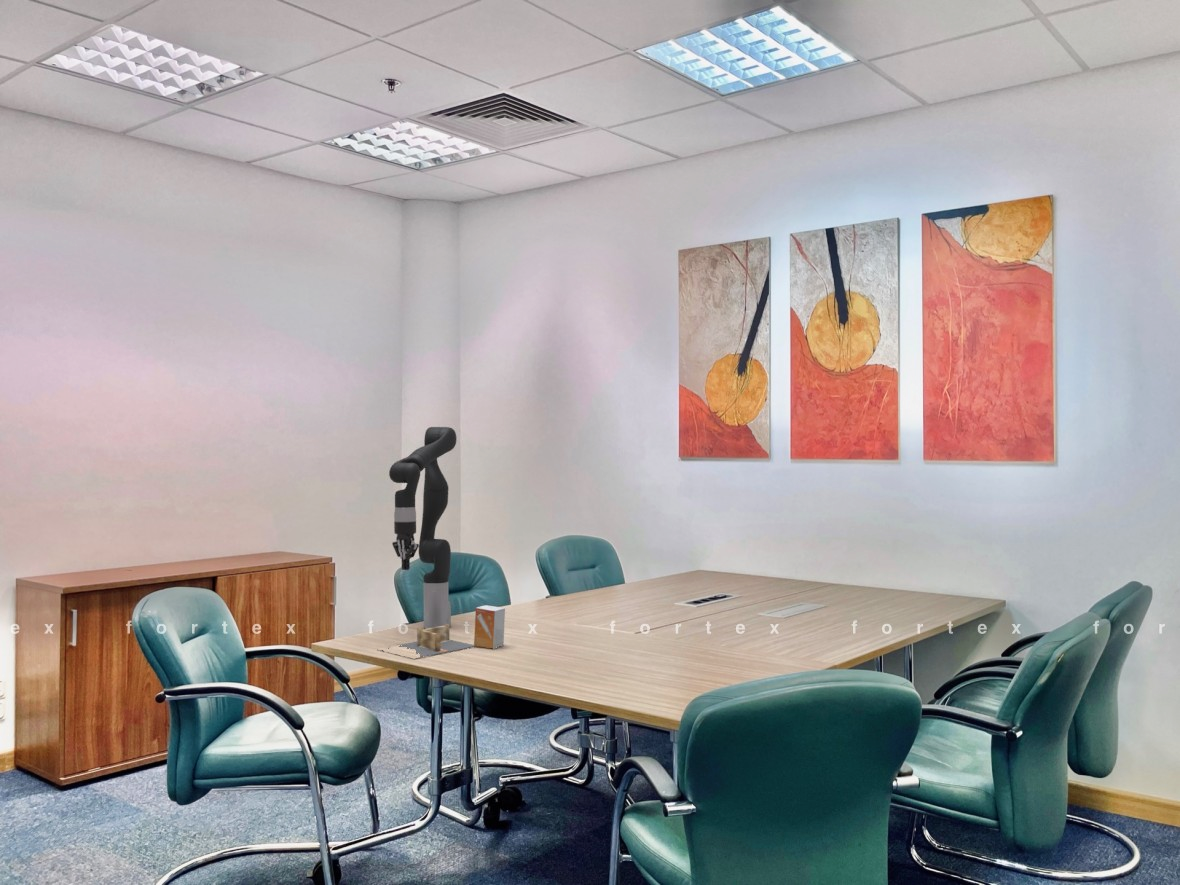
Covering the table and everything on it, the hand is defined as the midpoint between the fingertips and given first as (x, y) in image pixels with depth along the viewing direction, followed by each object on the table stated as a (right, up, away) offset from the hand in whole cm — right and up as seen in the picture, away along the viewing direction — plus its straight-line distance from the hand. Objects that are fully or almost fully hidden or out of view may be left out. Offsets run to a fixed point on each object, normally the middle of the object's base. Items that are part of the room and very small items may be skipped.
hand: (405, 569), depth 339 cm
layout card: (+10, -25, -12) cm, 29 cm away
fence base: (+11, -25, -5) cm, 27 cm away
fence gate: (+11, -24, -14) cm, 30 cm away
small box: (+30, -25, -9) cm, 40 cm away
